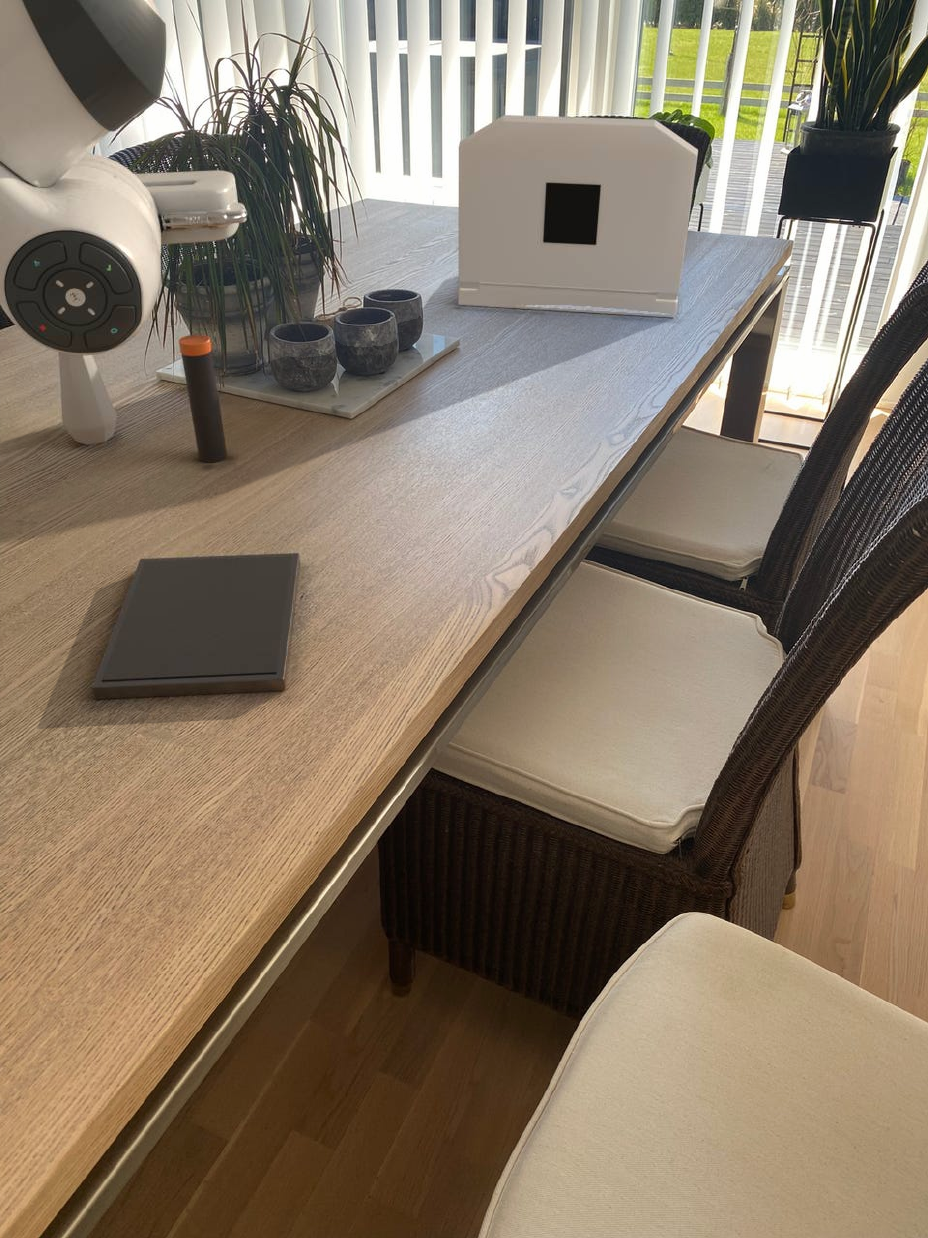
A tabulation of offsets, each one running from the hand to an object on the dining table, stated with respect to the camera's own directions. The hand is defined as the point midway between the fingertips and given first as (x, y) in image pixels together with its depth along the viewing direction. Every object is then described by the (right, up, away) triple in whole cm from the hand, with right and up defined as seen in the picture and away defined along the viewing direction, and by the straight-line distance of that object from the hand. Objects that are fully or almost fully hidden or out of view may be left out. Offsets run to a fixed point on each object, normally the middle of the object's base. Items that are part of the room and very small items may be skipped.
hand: (102, 187), depth 75 cm
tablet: (+7, -35, +3) cm, 35 cm away
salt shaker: (-14, -14, +33) cm, 38 cm away
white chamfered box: (+46, +20, +80) cm, 95 cm away
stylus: (+1, -16, +29) cm, 33 cm away
